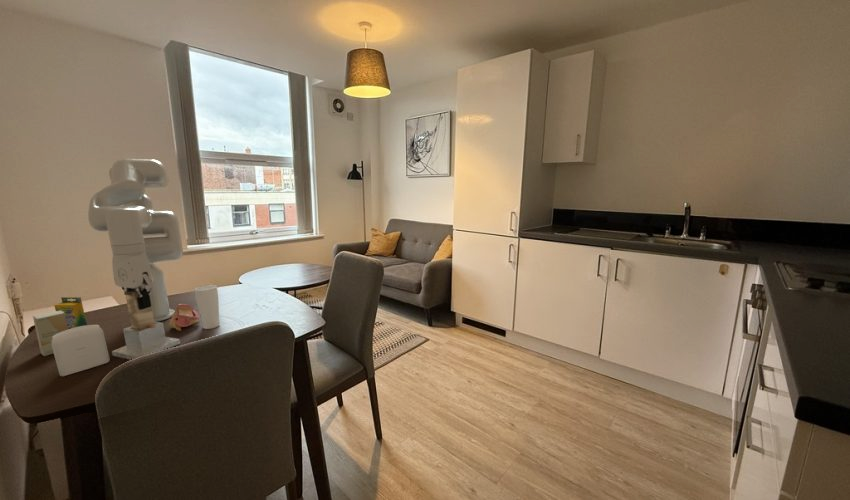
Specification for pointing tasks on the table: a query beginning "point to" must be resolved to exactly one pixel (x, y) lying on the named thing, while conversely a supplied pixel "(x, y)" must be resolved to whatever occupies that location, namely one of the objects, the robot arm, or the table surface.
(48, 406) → the table surface
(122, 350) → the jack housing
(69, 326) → the crayon box
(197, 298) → the drinking glass
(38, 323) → the skincare box
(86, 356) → the photo printer
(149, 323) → the column
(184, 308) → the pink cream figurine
